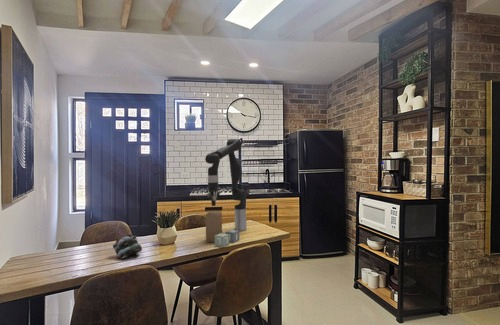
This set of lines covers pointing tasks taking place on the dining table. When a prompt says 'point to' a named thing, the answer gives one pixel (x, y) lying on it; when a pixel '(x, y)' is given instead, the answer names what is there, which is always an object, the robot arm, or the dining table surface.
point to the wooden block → (213, 225)
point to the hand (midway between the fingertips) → (213, 205)
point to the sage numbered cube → (221, 240)
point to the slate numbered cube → (233, 235)
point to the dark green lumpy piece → (126, 247)
